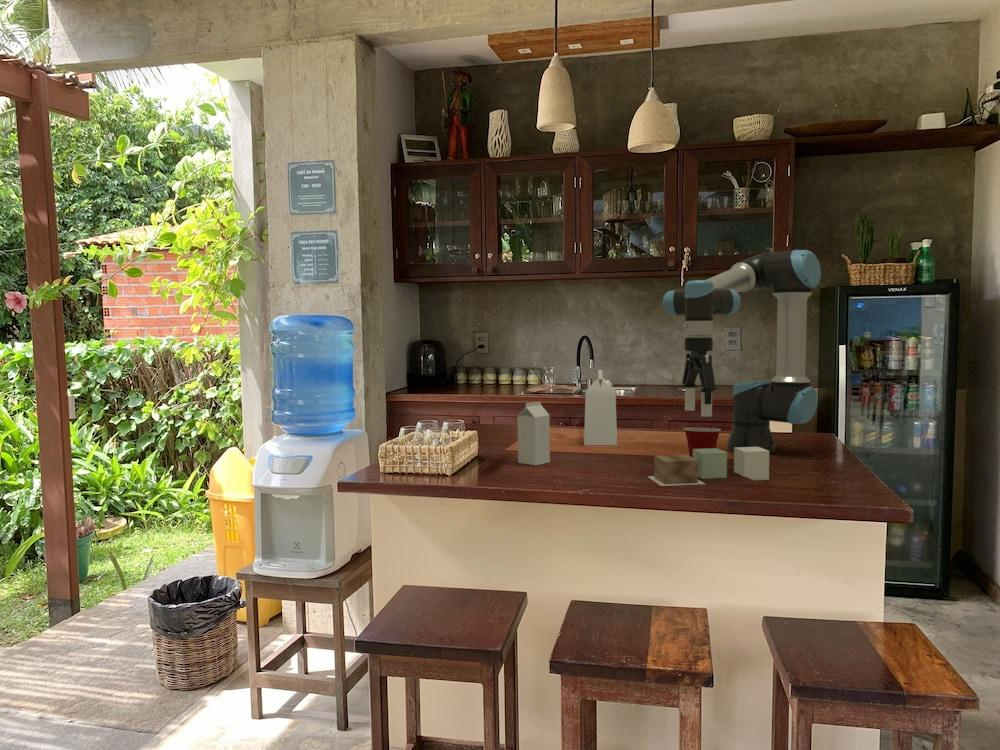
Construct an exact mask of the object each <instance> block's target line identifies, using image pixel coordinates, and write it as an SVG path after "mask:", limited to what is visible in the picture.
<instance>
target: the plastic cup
mask: <svg viewBox="0 0 1000 750" xmlns="http://www.w3.org/2000/svg"><path fill="white" fill-rule="evenodd" d="M683 430H684V432H685V437H686V441H687V448H688V452H689V454H688V455H689V456H690V457H692V458H693V449H707V448H717V443H718V440H719V437H720V433H721V431H722V429H721V428H717V427H684V428H683Z"/></svg>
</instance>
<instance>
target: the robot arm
mask: <svg viewBox="0 0 1000 750" xmlns="http://www.w3.org/2000/svg"><path fill="white" fill-rule="evenodd" d="M821 277H822V271H821V265H820V262H819V259H818V258H817V256H816V254H815V253H813V251H810V250H808V249H792V250H791V249H790V250H782V251H774V252H772V251H770V252H763V253H760V254H756V255H753V256H751V257H749V258H746V259H744V260H741V261H738V262H736V263H735V264H733V265H732V266H731V268H730V269H728V270H726V271H724V272H723V271H722V272H721V273H719V274H716V275H714V276H712V277H710V278H707V279H704V280H703V279H701V280H700V279H696V280H688V281H687V282H686V283H685V287H684V288H683V289H674V290H669V291H666V292H665V294H664V295H663V298H662V307H663V308H662V309H663V310H664V313H666V315H668V316H676V317H679V316H680V317H681V316H682V317H683V316H684V324H683V329H684V335H685V336H686V337H685V338H684V351H686V352H687V353H686V354H685V363H684V370H683V375H682V381H681V383H682V385H684V386H683V387H684V411H686V412H688V411H689V412H691V411H693V412H694V411H696V387H697V385H696V383H695V382H696V380H697V377H698V378H699V381H700V384H701V389H700V393H701V394H700V395H701V402H700V408H701V409H700V410H701V411H700V412H701V414H700V417H705V418H706V417H713V392H714V391H716V390H717V389H716V382H715V375H714V368H713V364H712V363H713V361H712V359H713V358H712V357H713V356H712V355H711V354H707V352H711V351H713V349H714V348H713V346H714V344H713V343H714V341H713V339H714V338H713V337H712V336H714V316H726V317H727V316H729V315H730V316H731V315H735V314H736V312H738V310H739V308H740V307H741V303H742V302H741V297H740V294H739V292H740V293H741V292H742V293H747V292H749V291H752V290H768V289H769V290H772V295H773V296H774V298H776V299H777V314H776V315H777V316H776V317H777V319H776V320H777V321H776V325H777V326H776V363H775V364H776V366H775V367H776V369H775V370H776V372H775V373H776V375H775V376H774V377H773V378H772V379H771V380H769V379H768V380H767V379H766V380H765V379H764V380H753V381H743V382H736V383H735V384H734V386H733V388H732V389H733V390H732V395H731V396H732V429H731V432H730V434H729V436H728V439H727V444H726V450H727V449H728V450H727V451H729V450H730V451H729V452H731V453H734V448H735V447H760V448H763V449H765V450H768V451H769V454H772V453H774V452H776V443H775V439H774V437H773V434H772V431H771V428H770V427H771V425H770V422H778V423H787V424H791V425H793V424H794V425H796V424H801V425H803V424H806V423H808V422H810V420H811V419H812V418H813V417H814V415H815V413H816V411H817V408H818V405H819V396H818V392H817V390H816V389H815V388H813V387H812V386H811V380H810V379H809V378H808V377H807V376H806V363H807V362H806V357H807V356H806V355H807V315H808V314H807V313H808V312H807V310H808V303H807V302H808V298H809V297H810V296H811V295H813V288H815V287H817V286H818V285H819V284H820V281H821Z"/></svg>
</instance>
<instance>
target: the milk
mask: <svg viewBox="0 0 1000 750" xmlns="http://www.w3.org/2000/svg"><path fill="white" fill-rule="evenodd" d="M613 386H614V384H613V383H612V382H611V381H610V380H609V379H607V380H606V379H605V378H604V377H603V369H598V377H597V379H595V381H594V382H593V383H592V384H591V385H589V386H588V387H587V389H586V390H585V398H584V399H585V401H584V402H585V405H584V406H585V407H584V435H583V437H584V438H583V446H584V445H617V446H618V433H617V432H618V431H617V430H618V428H617V424H618V423H617V397H616V396H617V395H616V389H615V388H614V387H613Z"/></svg>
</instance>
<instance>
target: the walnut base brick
mask: <svg viewBox="0 0 1000 750" xmlns="http://www.w3.org/2000/svg"><path fill="white" fill-rule="evenodd" d="M653 458H654V460H653V461H654V463H653V464H654V465H653V470H654V471H653V472H654V473H653V476H654V477H655V478H656V479H658V480H659V481H661V482H662V483H664V484H684V483H698V480H699V477H698V460H696V459H694V458H692V457H690V455H689V454H669V455H668V454H667V455H666V454H663V455H661V454H660V455H659V454H658V455H657V454H656V455H654V457H653Z"/></svg>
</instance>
